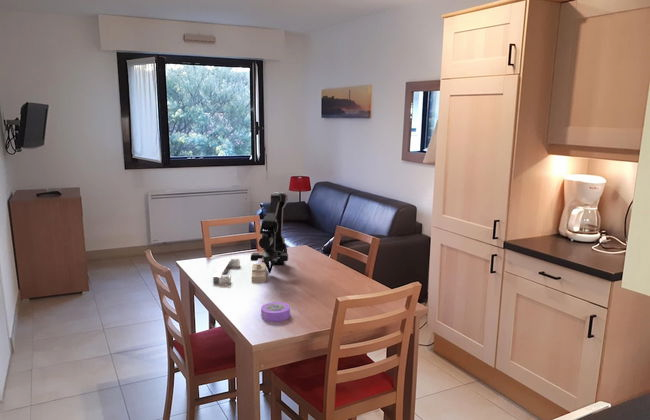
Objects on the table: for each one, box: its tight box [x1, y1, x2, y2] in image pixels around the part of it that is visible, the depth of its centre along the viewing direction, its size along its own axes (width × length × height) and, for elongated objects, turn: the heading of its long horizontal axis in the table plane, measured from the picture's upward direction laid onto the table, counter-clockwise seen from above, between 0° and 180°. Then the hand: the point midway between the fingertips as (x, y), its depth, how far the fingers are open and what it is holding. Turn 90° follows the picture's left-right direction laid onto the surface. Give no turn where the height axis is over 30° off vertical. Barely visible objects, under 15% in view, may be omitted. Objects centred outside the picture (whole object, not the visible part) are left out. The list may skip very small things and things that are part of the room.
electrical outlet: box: [251, 263, 267, 283], centre depth 244 cm, size 7×4×18 cm
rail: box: [212, 258, 241, 286], centre depth 245 cm, size 8×31×4 cm, turn 1°
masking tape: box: [260, 301, 291, 323], centre depth 196 cm, size 12×12×4 cm
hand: (269, 273), depth 246 cm, fingers closed
